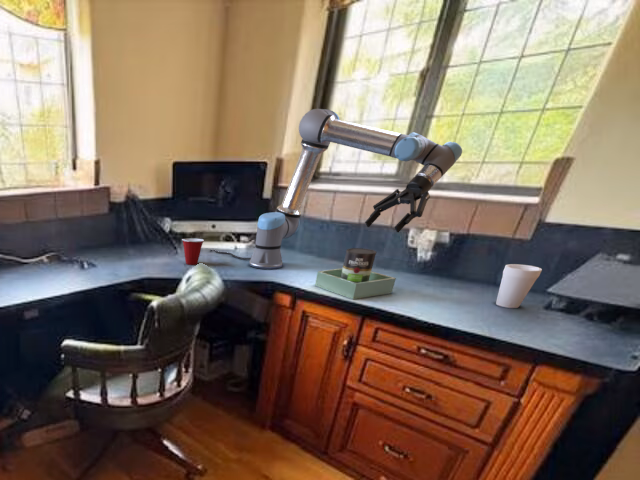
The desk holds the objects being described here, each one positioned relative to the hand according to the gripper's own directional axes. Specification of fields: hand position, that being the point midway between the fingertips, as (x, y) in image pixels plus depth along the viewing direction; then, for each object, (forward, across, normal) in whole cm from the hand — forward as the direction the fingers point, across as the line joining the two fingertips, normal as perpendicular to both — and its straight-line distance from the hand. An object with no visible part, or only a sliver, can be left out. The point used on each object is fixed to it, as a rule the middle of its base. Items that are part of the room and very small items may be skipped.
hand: (381, 227), depth 160 cm
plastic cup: (+49, +63, +17) cm, 82 cm away
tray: (+23, -3, -9) cm, 25 cm away
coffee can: (+22, -3, -8) cm, 24 cm away
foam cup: (-1, -38, -32) cm, 50 cm away
